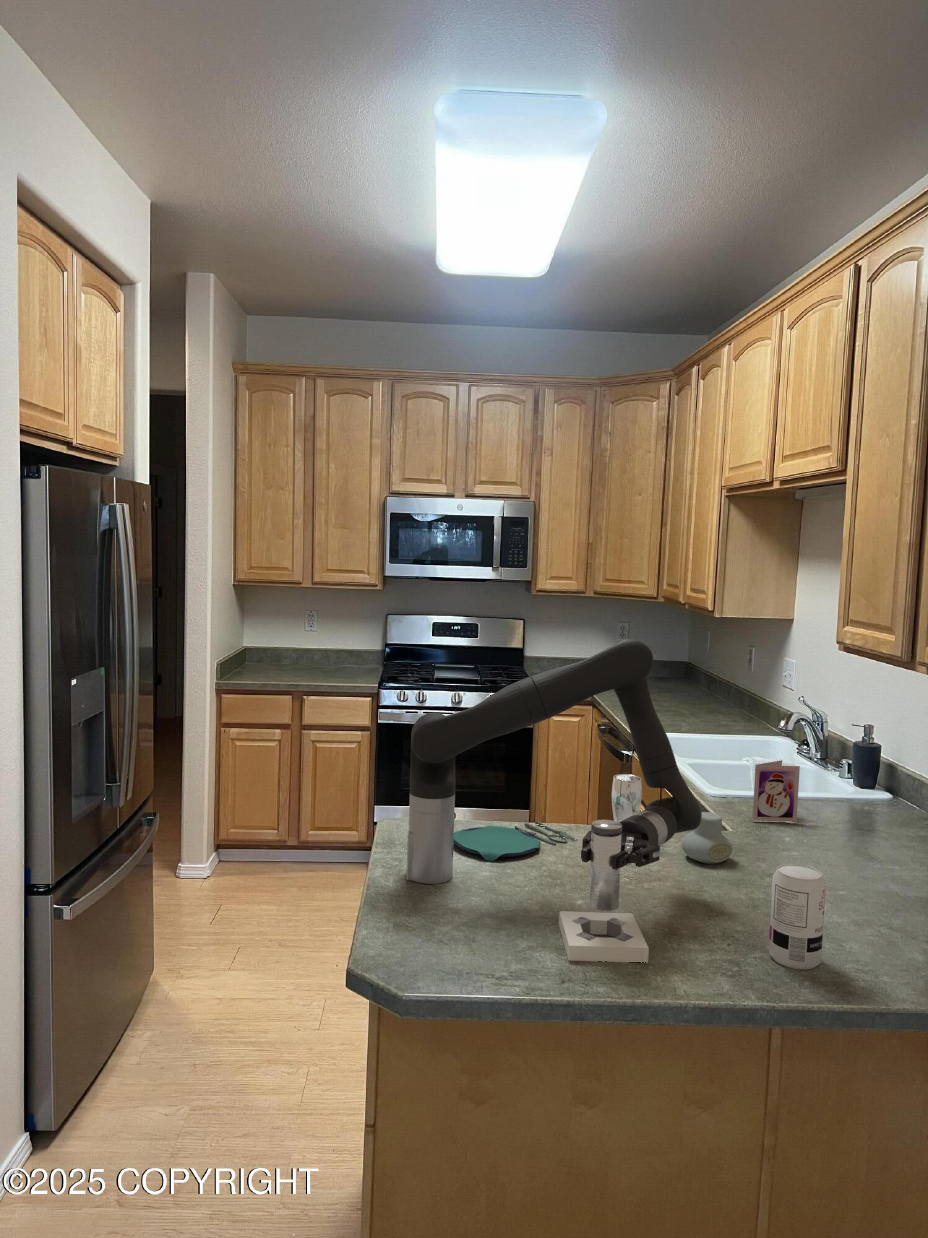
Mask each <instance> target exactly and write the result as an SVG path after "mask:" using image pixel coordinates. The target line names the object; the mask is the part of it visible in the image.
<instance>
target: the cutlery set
mask: <svg viewBox="0 0 928 1238" xmlns="http://www.w3.org/2000/svg"><path fill="white" fill-rule="evenodd" d="M534 823H535V824H539V825H545V824H544V823H542V822H540V821H538V820H537V821H535V822H534ZM535 824H534V825H535ZM534 825H532V824H530V823H529V822H528V823H527V822H525V823H524V827H527V828H530V829H532V830H533V831H528V830H526V829H523V828H521V827H518V826H517V825H515V826H514V828H513V827H508V826H501V825H486V826H481V827H480V826H479V827H470V828H465V829H462V830H457V831H454V843H453V845H455V846H456V847H457V848H458V849H459V848H460V849H461V850H463V851H466V852H468V853H470V854H476V855H480V856H481V857H482V858H483V859H484V860H486V861H487V862H495V860H497V859H498V858H499V857H501V858H502V857H518V856H519V857H520V856H524V855H527V854H531V853H533V852H535V851H536V852H537V851H538V852H539V851H540V846H541V841H542V842H545V843H546V844H549V845H552V846H556V845H557V843H563V844H564V843H566V842H568V840H569V839H570V840H569V841H571V840H573V841H572V842H576V841H578V838H577V839H576V838H575V837H573V836H572V835H570V834H568V833H567V832H566V831H562V830H557V829H554V828H551V827H549V826H547V825H546V826H539V827H541V828H542V827H545V828H543V829H544V830H547V831H549V832H551V831H552V832H551V833H555V834H549V833H547V832H545V831H543V830H542V829H541V828H538V827H536V826H534ZM522 831H523V832H522ZM534 831H537V832H539V833H541V834H543V835H545V836H547V837H548V838H549V839H546V838H544V837H542V836H539V835H537V833H536V832H534ZM558 834H559V835H558ZM550 837H551V838H550ZM557 837H559V838H558V839H560V838H561V839H560V840H556V839H553V838H557ZM563 837H565V838H563ZM566 838H567V839H566ZM563 839H564V840H565V841H564V840H563ZM575 839H576V840H575ZM561 840H563V841H561ZM574 840H575V841H574Z"/></svg>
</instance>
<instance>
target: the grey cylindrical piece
mask: <svg viewBox="0 0 928 1238" xmlns="http://www.w3.org/2000/svg"><path fill="white" fill-rule="evenodd" d="M590 825H591V826H590V831H591V832H592V836H591V860H590V869H589V870H590V871H589V874H590V875H589V896H588V897H589V899H588V902H589V903H588V905H589V906H590V907H591V908H593V909H595V910H599V911H604V912H605V911H607V912H608V911H609V912H610V911H614V910H617V909H619V908H620V887H621V868H619V869H617V870H615V869H612V858H613V856H614V855H616V854H618V853H620V852H621V834H622V824H621V823H619V822H616V821H614V820H612V819H611V820H610V819H596V820H594V821H592V822H591V824H590Z"/></svg>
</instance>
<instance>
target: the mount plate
mask: <svg viewBox="0 0 928 1238" xmlns="http://www.w3.org/2000/svg"><path fill="white" fill-rule="evenodd" d="M558 916H559V917H558V926H559V931H560V934H561V938H562V942H563V945H564V950H565V952H566V953H565V954H566V957H567V960H568V961H569V962H571V961H573V962H574V961H575V962H598V961H602V962H603V963H604V962H605V961H607V962H605V963H629V962H641V963H640V964H649V955H650V954H649V951H650V948H649V945H648V944H647V942H646V939H645V937H644V935H643V933H642V931H641V929H640V927H639V924H638V923H637V921H636V919H635V916H634V915H633V913H632V912H631V913H629V912H627V913H626V912H625V913H624V912H602V911H600V912H599V911H598V912H594V911H593V912H592V911H569V910H566V911H564V910H561V911H559V914H558ZM595 935H604V936H605V935H606V936H609V937H601V936H600V937H599V936H598V937H597V936H595ZM602 962H601V963H602ZM642 962H644V963H642ZM645 962H646V963H645Z"/></svg>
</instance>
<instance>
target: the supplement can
mask: <svg viewBox="0 0 928 1238" xmlns="http://www.w3.org/2000/svg"><path fill="white" fill-rule="evenodd" d="M771 884H772V885H771V899H770V900H771V903H770V917H769V919H770V920H769V937H768V953H769V955H770V957H772V959H773V960H774V961H775V962H777V963H778V964H780V965H782V966H784V967H787V968H790V969H797V970H812V969H814V968H816V967H817V966H818V965H820V964H821V963H822V953H823V938H824V937H823V935H824V922H825V921H824V920H825V919H824V918H825V903H826V887H827V885H826V881H825V879H824V877H823V873H822V872H821V871H820V870H818V869H817V868H815V867H811V866H806V865H802V864H797V863H796V864H794V863H793V864H791V863H789V864H788V863H785V864H780V865H779V866H777V869H776V871H775V872H774V874H773V876H772V883H771Z"/></svg>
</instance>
